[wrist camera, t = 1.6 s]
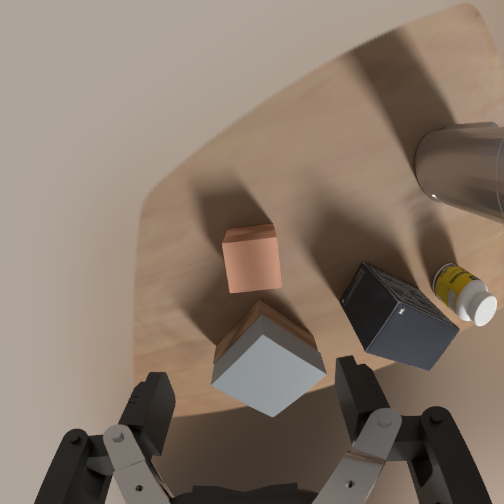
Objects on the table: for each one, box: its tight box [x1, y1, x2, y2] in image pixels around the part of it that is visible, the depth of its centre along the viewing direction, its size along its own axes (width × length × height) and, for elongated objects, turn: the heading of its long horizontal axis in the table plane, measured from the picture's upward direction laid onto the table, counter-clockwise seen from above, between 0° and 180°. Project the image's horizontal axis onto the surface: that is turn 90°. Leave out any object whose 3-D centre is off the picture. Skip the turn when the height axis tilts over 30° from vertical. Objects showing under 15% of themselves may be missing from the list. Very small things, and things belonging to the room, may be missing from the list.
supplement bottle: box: [433, 263, 497, 326], centre depth 29 cm, size 5×5×10 cm
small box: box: [340, 262, 460, 371], centre depth 30 cm, size 11×6×10 cm, turn 66°
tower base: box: [213, 299, 318, 364], centre depth 35 cm, size 9×9×4 cm
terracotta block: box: [222, 223, 282, 293], centre depth 30 cm, size 5×5×6 cm
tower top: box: [211, 315, 327, 417], centre depth 31 cm, size 9×9×4 cm
